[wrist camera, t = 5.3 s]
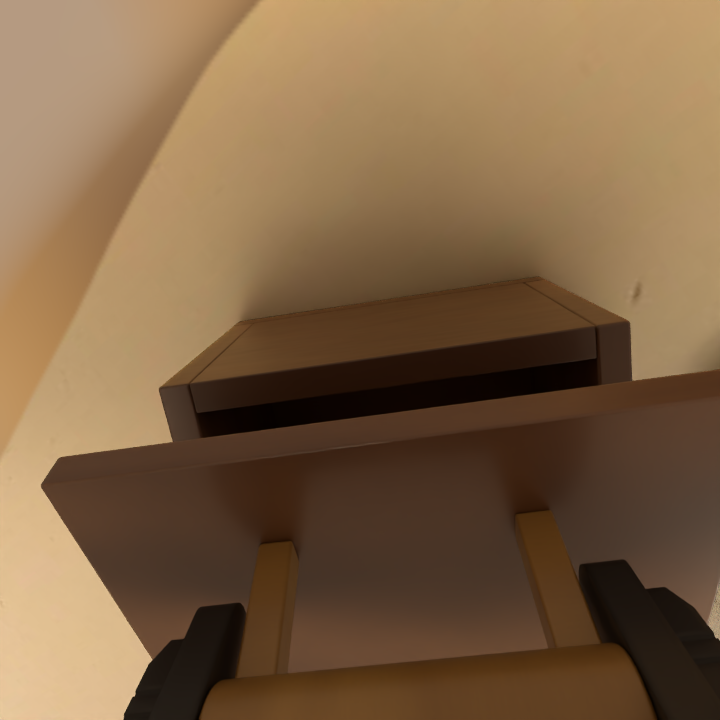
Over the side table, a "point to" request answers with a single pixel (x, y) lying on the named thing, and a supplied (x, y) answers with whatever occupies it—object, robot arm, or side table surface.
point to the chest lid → (415, 549)
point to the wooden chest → (397, 358)
